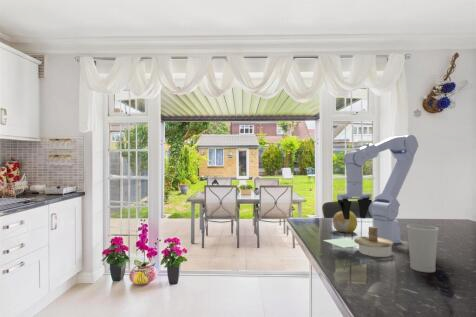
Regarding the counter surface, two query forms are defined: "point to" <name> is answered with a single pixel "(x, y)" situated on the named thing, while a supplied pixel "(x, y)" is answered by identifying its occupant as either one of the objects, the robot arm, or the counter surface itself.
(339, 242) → the mat
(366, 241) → the lid
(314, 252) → the counter surface
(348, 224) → the fruit
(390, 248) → the bowl
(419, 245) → the cup
